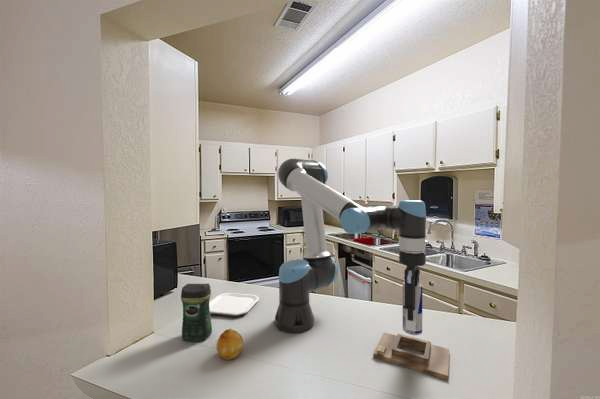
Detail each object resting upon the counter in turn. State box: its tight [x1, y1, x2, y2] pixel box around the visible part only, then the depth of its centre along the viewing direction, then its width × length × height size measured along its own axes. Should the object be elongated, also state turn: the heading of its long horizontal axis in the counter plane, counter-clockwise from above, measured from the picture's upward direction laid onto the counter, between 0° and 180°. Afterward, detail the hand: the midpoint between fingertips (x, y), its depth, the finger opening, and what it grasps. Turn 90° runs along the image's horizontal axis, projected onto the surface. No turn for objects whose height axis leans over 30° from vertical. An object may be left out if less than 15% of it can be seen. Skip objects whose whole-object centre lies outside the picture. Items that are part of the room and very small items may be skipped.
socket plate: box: [372, 331, 450, 381], centre depth 82 cm, size 20×14×3 cm
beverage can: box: [402, 280, 423, 336], centre depth 81 cm, size 6×6×15 cm
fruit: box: [216, 328, 244, 360], centre depth 83 cm, size 8×8×8 cm
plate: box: [209, 292, 260, 317], centre depth 118 cm, size 21×21×2 cm
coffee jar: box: [180, 283, 213, 342], centre depth 93 cm, size 10×8×19 cm
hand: (412, 325), depth 82 cm, fingers closed on beverage can, 5 cm apart
